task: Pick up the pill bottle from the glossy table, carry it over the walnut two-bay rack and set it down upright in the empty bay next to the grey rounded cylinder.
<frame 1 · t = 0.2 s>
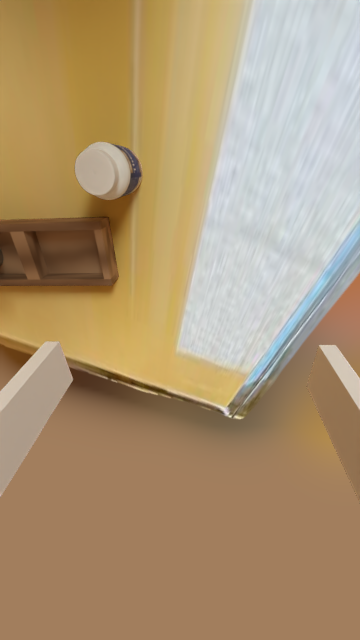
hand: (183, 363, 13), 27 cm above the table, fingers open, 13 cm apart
rack: (39, 249, 39), on the table
pill bottle: (123, 171, 33), on the table
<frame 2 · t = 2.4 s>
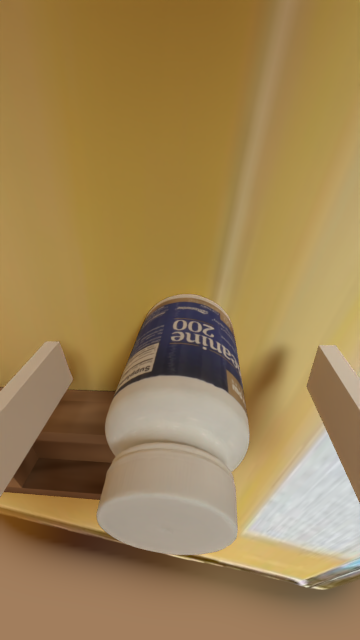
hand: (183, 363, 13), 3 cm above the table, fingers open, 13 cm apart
rack: (20, 423, 22), on the table
pill bottle: (188, 329, 15), on the table
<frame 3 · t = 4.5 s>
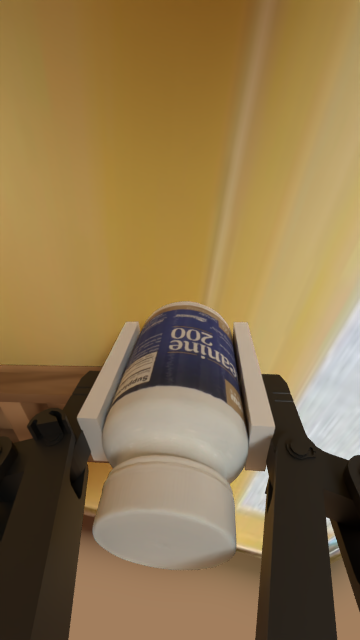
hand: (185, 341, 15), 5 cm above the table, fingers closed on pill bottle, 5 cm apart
rack: (44, 399, 26), on the table
pill bottle: (186, 336, 15), point 4 cm above the table, touching gripper
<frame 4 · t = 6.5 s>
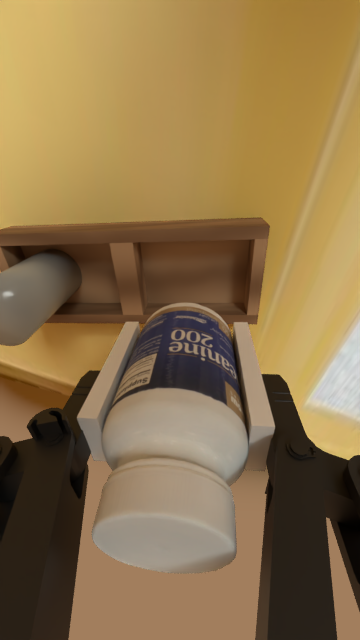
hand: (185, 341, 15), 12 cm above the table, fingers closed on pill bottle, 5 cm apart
grey rounded cylinder: (58, 272, 26), point 1 cm above the table, touching rack
rack: (136, 268, 26), on the table
pill bottle: (186, 337, 15), point 12 cm above the table, touching gripper
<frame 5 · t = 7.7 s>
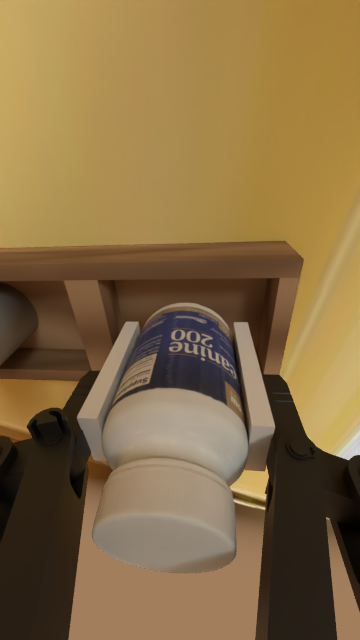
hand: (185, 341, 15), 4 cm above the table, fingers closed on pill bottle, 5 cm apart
grey rounded cylinder: (5, 311, 19), point 1 cm above the table, touching rack
rack: (111, 305, 19), on the table
pill bottle: (186, 337, 15), point 4 cm above the table, touching gripper
when the fingers open (3 cm above the table, at t = 8.7 s): pill bottle drops 2 cm, resting on rack.
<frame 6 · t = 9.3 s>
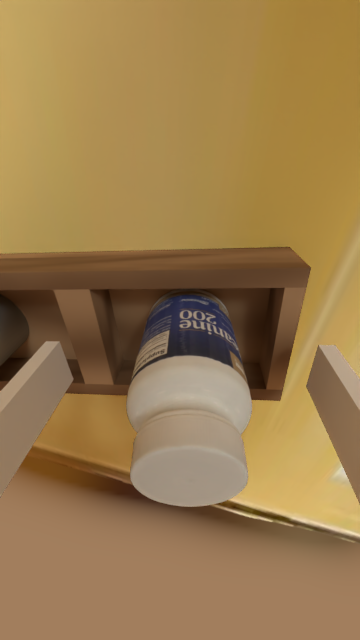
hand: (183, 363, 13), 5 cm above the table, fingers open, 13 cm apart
rack: (106, 313, 18), on the table
pill bottle: (188, 320, 17), point 1 cm above the table, touching rack
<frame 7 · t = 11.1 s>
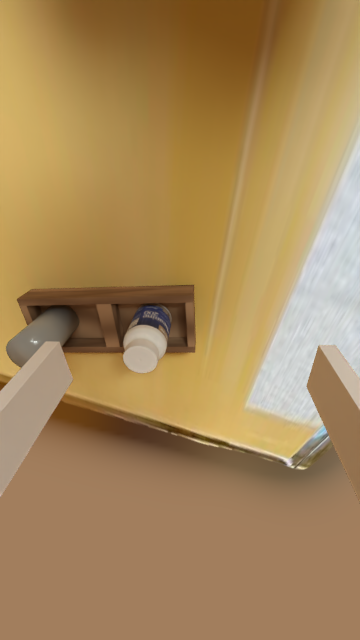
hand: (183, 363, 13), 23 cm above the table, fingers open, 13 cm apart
grey rounded cylinder: (63, 318, 38), point 1 cm above the table, touching rack
rack: (116, 314, 38), on the table
pill bottle: (153, 316, 37), point 1 cm above the table, touching rack
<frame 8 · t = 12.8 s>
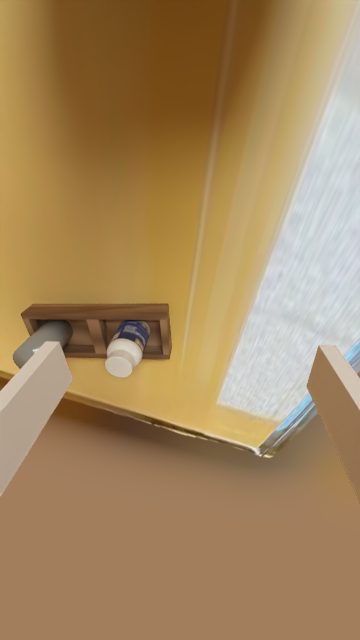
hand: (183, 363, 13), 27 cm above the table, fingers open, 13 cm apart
grey rounded cylinder: (59, 328, 45), point 1 cm above the table, touching rack
rack: (104, 326, 45), on the table
pill bottle: (135, 328, 44), point 1 cm above the table, touching rack
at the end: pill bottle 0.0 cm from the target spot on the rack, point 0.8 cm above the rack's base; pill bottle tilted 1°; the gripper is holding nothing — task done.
